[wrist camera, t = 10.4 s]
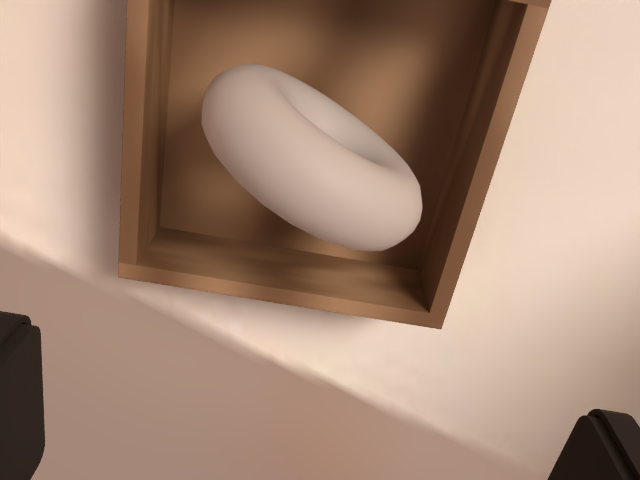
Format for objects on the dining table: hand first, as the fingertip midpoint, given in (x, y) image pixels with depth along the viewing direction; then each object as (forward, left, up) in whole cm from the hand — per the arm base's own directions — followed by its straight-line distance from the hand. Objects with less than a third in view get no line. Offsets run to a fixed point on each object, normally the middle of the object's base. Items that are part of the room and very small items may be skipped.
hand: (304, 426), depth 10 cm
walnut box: (0, 0, -21) cm, 21 cm away
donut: (0, 0, -20) cm, 20 cm away
